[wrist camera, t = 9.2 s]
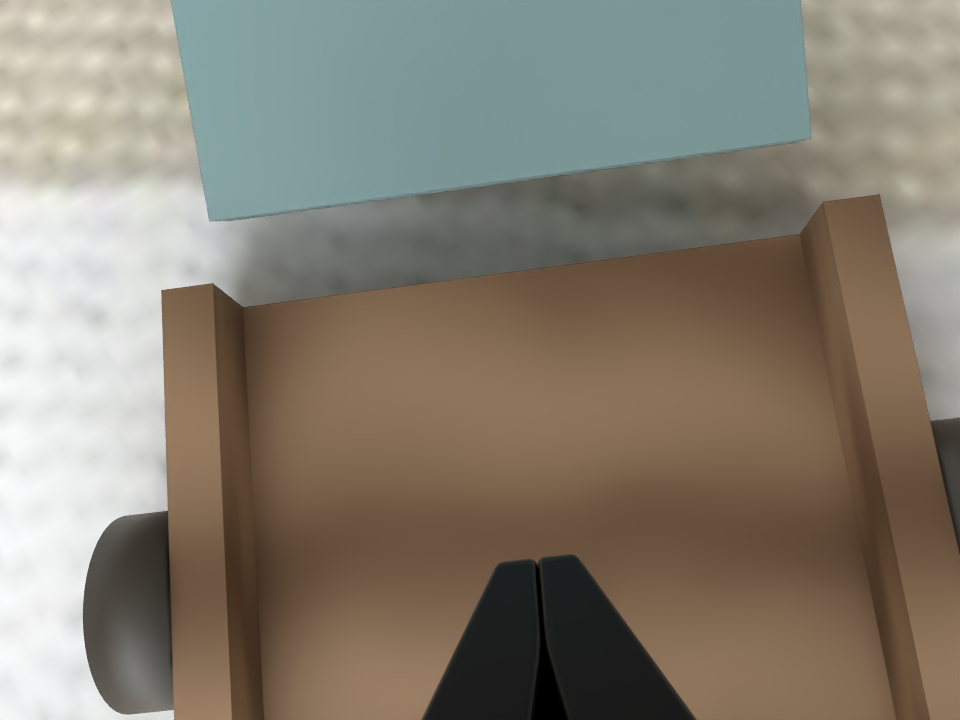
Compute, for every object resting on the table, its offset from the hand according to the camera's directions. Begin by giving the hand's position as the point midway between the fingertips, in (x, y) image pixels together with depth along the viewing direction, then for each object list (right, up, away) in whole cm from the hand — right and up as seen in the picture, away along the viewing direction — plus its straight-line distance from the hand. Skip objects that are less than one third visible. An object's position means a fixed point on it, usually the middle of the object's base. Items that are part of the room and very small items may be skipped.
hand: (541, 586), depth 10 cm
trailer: (+1, -3, +13) cm, 13 cm away
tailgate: (0, +6, +13) cm, 14 cm away
